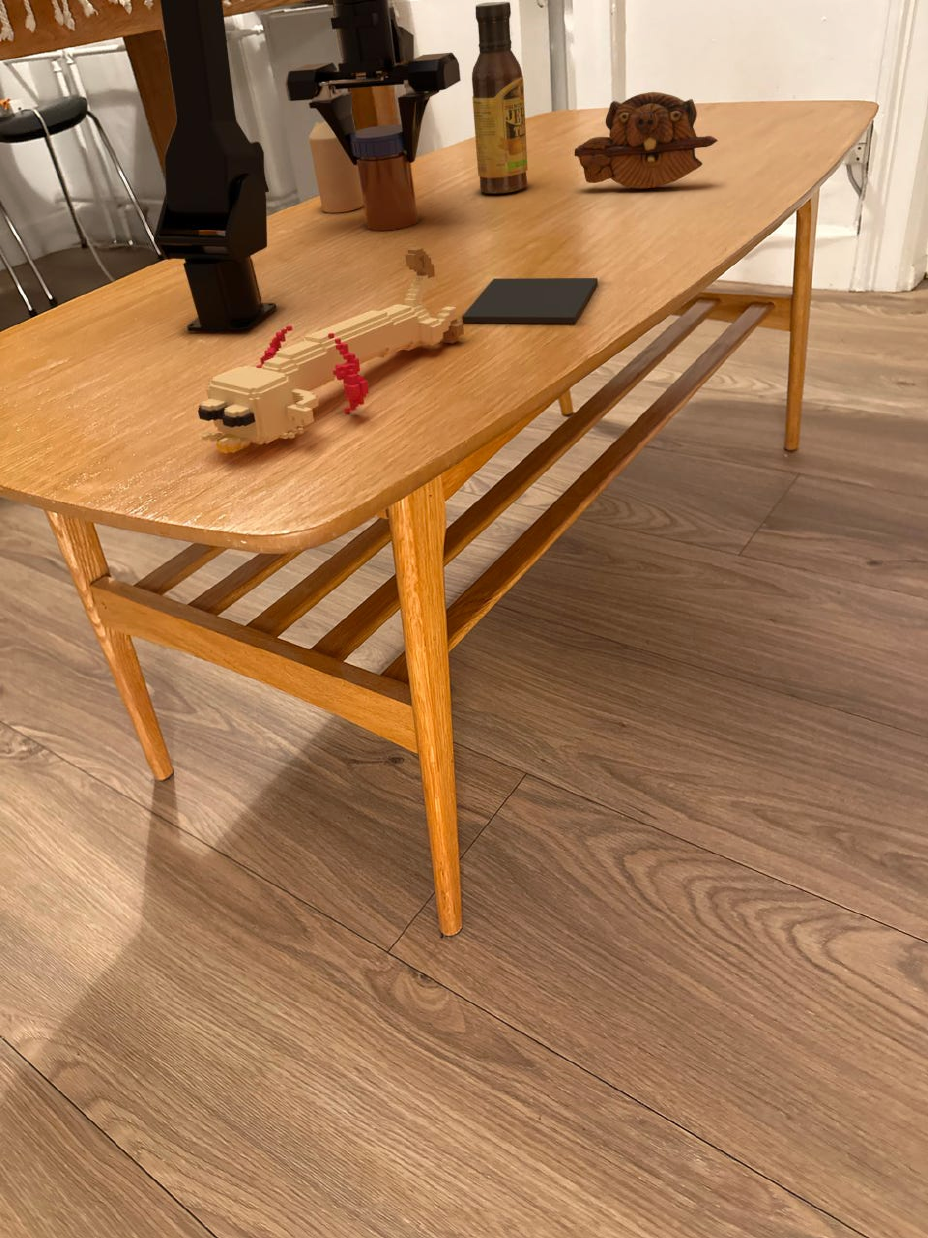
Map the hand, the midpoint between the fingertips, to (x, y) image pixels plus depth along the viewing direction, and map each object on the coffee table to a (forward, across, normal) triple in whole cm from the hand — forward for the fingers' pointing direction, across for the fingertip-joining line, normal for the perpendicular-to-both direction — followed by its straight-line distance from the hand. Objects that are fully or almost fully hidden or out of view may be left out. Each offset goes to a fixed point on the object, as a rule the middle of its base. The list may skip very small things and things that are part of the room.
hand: (384, 163), depth 105 cm
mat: (+6, -24, +27) cm, 37 cm away
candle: (+7, +10, -8) cm, 15 cm away
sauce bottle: (+7, -10, -14) cm, 18 cm away
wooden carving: (+7, -28, -12) cm, 31 cm away
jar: (+7, 0, 0) cm, 7 cm away
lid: (-3, 0, 0) cm, 3 cm away
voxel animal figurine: (+6, -15, +47) cm, 49 cm away
